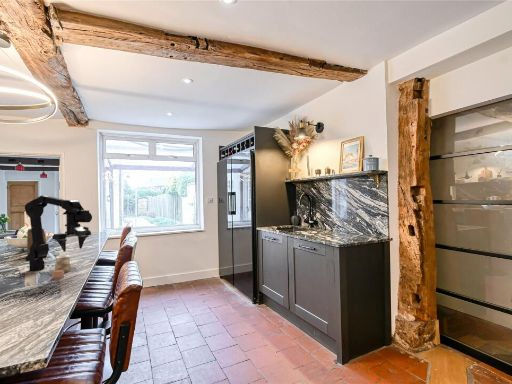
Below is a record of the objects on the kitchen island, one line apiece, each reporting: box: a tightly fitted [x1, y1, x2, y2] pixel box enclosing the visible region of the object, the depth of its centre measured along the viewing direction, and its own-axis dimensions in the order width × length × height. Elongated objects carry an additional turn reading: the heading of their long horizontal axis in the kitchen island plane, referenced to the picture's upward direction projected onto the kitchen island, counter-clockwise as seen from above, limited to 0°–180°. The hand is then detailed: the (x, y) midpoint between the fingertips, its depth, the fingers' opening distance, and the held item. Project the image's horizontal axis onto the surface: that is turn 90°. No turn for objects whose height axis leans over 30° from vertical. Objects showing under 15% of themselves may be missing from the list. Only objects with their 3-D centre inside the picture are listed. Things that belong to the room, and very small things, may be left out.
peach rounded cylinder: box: [51, 270, 65, 280], centre depth 147 cm, size 5×5×4 cm
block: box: [26, 227, 47, 255], centre depth 203 cm, size 11×8×20 cm
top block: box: [55, 254, 71, 265], centre depth 161 cm, size 6×6×4 cm
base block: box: [54, 262, 72, 272], centre depth 161 cm, size 7×7×4 cm
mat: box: [48, 266, 78, 276], centre depth 161 cm, size 13×13×1 cm
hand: (72, 250), depth 160 cm, fingers open, 9 cm apart
